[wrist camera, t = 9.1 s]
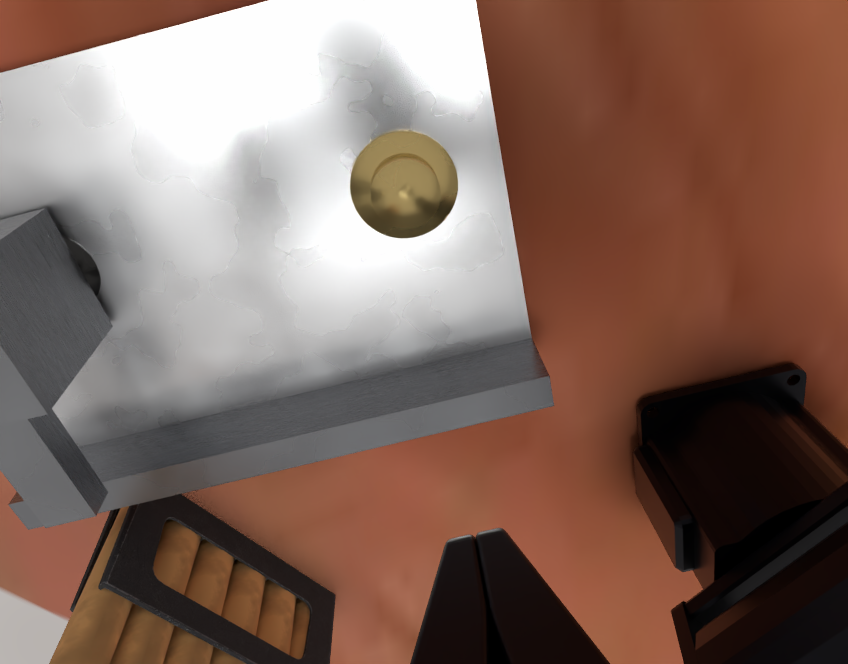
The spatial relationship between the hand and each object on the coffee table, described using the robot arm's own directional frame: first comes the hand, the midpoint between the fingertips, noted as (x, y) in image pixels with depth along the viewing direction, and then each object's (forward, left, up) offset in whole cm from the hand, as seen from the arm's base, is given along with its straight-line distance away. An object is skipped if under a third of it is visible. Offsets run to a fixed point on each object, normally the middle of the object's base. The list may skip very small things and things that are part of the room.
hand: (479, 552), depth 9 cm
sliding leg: (+12, 0, -12) cm, 17 cm away
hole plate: (+6, -1, -13) cm, 14 cm away
